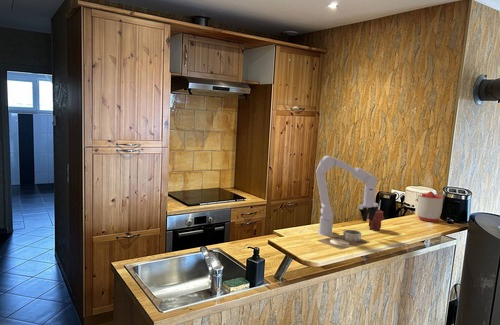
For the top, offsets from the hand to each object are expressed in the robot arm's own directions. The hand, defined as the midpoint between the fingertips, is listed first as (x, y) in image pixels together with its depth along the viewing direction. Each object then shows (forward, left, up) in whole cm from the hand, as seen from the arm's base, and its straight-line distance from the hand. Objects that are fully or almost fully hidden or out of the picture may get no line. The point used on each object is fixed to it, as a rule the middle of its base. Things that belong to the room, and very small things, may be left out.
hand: (367, 220), depth 205 cm
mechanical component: (-19, +8, -10) cm, 22 cm away
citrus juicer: (-56, +49, -10) cm, 74 cm away
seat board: (+13, -13, -9) cm, 21 cm away
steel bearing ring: (+9, -9, -9) cm, 15 cm away
